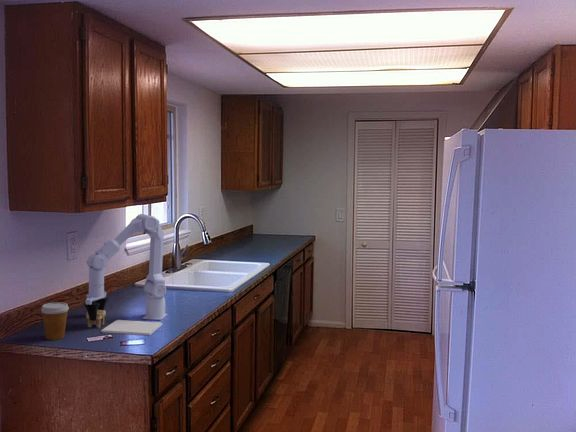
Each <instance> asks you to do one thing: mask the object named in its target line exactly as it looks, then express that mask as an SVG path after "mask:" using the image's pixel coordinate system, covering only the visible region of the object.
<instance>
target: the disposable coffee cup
mask: <svg viewBox="0 0 576 432" xmlns="http://www.w3.org/2000/svg"><path fill="white" fill-rule="evenodd" d="M69 310H70V307H69V305H68V303H66V302H49V303H44V304H43V305H41V308H40V311H41V313H42V320H43V328H44V335H45V339H46V340H50V341H53V340H54V341H56V340H62V339H63V338H65V333H66V324H67V318H68V311H69Z"/></svg>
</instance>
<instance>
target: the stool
mask: <svg viewBox="0 0 576 432" xmlns="http://www.w3.org/2000/svg"><path fill="white" fill-rule="evenodd" d="M106 312H107V310H105V309H104V310H97V317H96V320H95V321H93V320H90V318H89V314H88V311H86V319H87V328H92V327H93V325H96V328H97V329H100V328H101V326H104V325H105V317H106V314H107V313H106Z"/></svg>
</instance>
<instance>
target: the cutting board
mask: <svg viewBox="0 0 576 432" xmlns="http://www.w3.org/2000/svg"><path fill="white" fill-rule="evenodd" d="M161 326H163V322H158V321H157V322H156V321H155V322H154V321H142V320H140V321H139V320H127V319H126V320H125V319H124V320H123V319H116V320H115V321H113V322H112V323H110V324H108V325H107V326H105V327H104V328H103V329H101V333H108V334H122V335H123V334H125V335H126V334H127V335H140V336H151V335H152V334H153V333H154V332H156V331H157V330H158V329H159V328H160V327H161Z"/></svg>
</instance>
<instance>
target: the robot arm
mask: <svg viewBox="0 0 576 432" xmlns="http://www.w3.org/2000/svg"><path fill="white" fill-rule="evenodd" d="M143 232H145V234H147V235H148V236H149V237H150V239H149V240H150V241H149V259H148V260H149V261H148V263H149V264H148V265H149V266H148V274H147V276H146V277H145V278H146V279H145V282H144V284H143V290H144V293H146V295H145V315H144V316H143V317H142V320H154V321H155V320H156V321H161V320H163V319H164V318H165V317H166V316H168V312H167V313H166V298H165V295H166V294H167V287H166V283H165V282H166V281H165V278H164V276H163V256H164V237H165V233H164V229H163V228H162V225H160V220H159V219H158V218H156V217H155V216H154V215H147V214H144V213H139V214H138V215H137V216H136V217H134V218H133V219H132V220H131V221H130V223H129V224H127V226H125V228H124V229H123V230H122V231H121V232H120V233H119V234H117V236H116V237H115V238H114V239H108V241H107V240H105V241H104V242H103V245H102V246H101V247H100V248H98V249H96V250H95V251H94V253H91V254H90V255H89V256H88V257H87V260H86V265H87V267H88V294H85V297H86V298H85V302H84V303H83V304H84V307H85V309H86V312H88V314H89V318H90V320H93V321H95V320H96V321H97V319H96V317H97V310H105V307H106V306H107V305H106V304H107V302H108V301H109V298H108V297H107V291H105V268H106V266H107V265H108V261H110V260H111V259H112V258H113V257H114V256H116V254H117V253H118V252H120V250H121V248H120V246H121V245H123V244H124V243H125V242H126V241H127V240H129V238H131V237H132V236H133V235H134V234H136V233H137V234H138V233H143ZM104 297H105V298H104Z"/></svg>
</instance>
